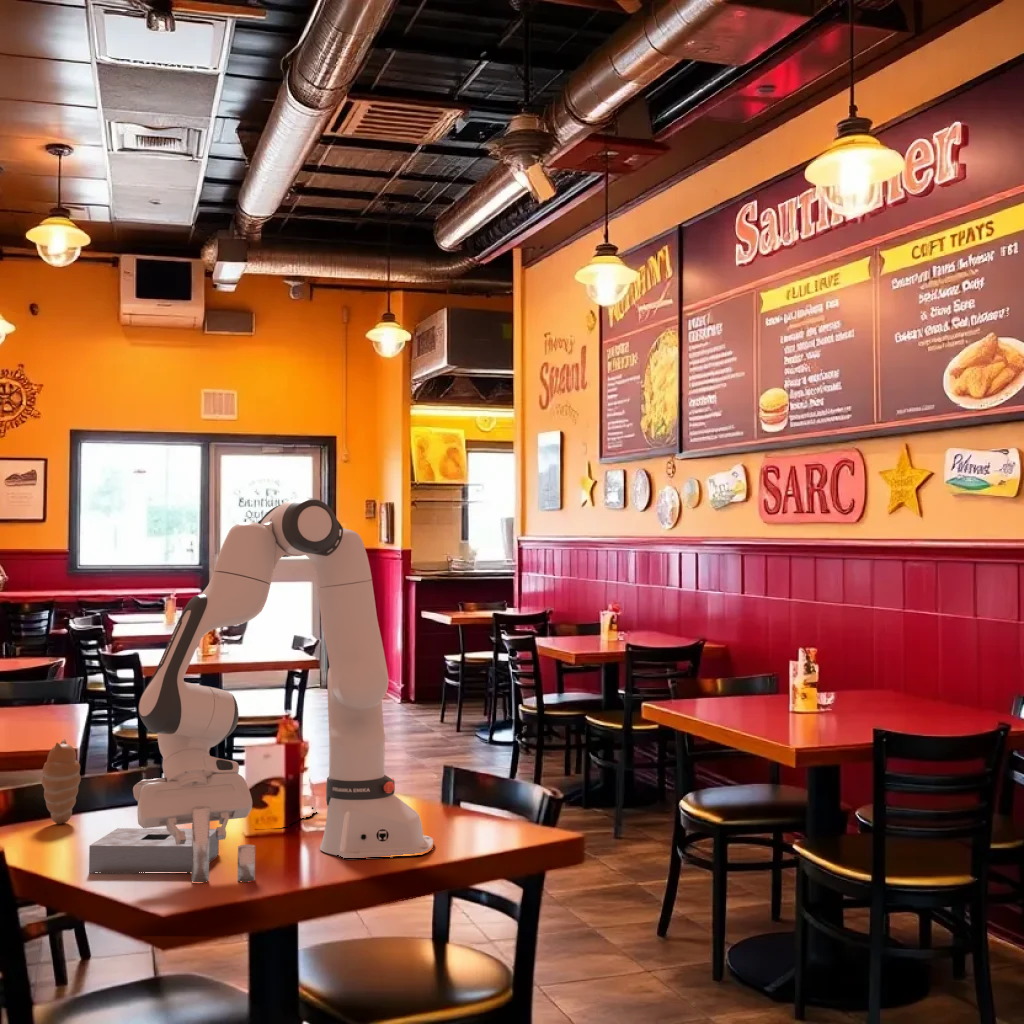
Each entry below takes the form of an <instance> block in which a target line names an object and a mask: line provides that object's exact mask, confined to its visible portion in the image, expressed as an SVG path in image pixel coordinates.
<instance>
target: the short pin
mask: <svg viewBox="0 0 1024 1024" xmlns="http://www.w3.org/2000/svg"><path fill="white" fill-rule="evenodd" d="M255 875H256V845H255V844H240V845H239V846H237V882H238V881H242V882H248V881H253V880H254V881H255V880H256V878H255V877H256V876H255ZM254 881H253V882H254ZM248 883H249V882H248Z"/></svg>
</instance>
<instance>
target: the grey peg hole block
mask: <svg viewBox="0 0 1024 1024" xmlns="http://www.w3.org/2000/svg"><path fill="white" fill-rule="evenodd" d="M178 829H179V830H180V831H185V836H186V841H185V844H179V845H176V841H175V837H173V836H172V835H171V834H170V833H169V832H168V831H167V828H136V827H134V828H127V827H126V828H123V827H122V828H120V827H119V828H118V827H117V828H116V829H114V830H113V831H111V832H109V833H107V834H105V835H104V836H103V837H101V838H100V839H98V840H97V841H94V842H93V843H91V844H89V847H88V849H89V850H88V851H89V853H88V860H89V861H88V868H89V869H88V873H89V874H96V873H95V872H98V873H97V874H123V873H139V872H140V873H141V872H142V873H143V872H144V873H145V872H187V873H190V872H192V828H178ZM215 832H216V828H210V829H209V862H210V863H211V862H212V861H214V860H215V859H216V858H217V857H218V856H219V855H220V853H219V852H220V851H219V850H220V849H219V848H220V847H219V846H220V844H219V843H220V840H216V835H215ZM218 854H219V855H218ZM217 855H218V856H217ZM216 856H217V857H216ZM215 857H216V858H215ZM214 858H215V859H214ZM211 860H212V861H211ZM99 872H101V873H99Z"/></svg>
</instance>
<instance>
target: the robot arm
mask: <svg viewBox="0 0 1024 1024" xmlns="http://www.w3.org/2000/svg"><path fill="white" fill-rule="evenodd" d="M301 556H306V557H307V558H308V559H309V560H310V562H311V563H312V566H313V569H314V572H315V580H316V587H317V588H316V589H317V596H318V603H319V604H318V605H319V611H320V618H321V619H320V620H321V626H322V631H323V632H322V633H323V636H324V642H325V646H326V647H325V648H326V654H327V659H328V666H329V667H328V669H327V677H326V678H327V710H328V711H327V713H328V715H327V717H328V718H327V719H328V733H329V734H328V740H329V741H328V745H329V746H328V753H329V755H328V759H329V760H328V777H326V783H325V800H326V805H327V810H326V811H327V813H326V819H325V826H324V831H323V837H322V840H321V843H320V847H319V849H320V850H321V852H324V853H326V854H329V855H333V856H337V855H339V856H338V857H340V856H341V857H343V858H342V859H344V858H364V857H381V856H391V855H403V854H415V853H421V852H425V851H427V850H429V849H430V848H431V847H432V845H433V841H434V839H433V837H431V836H428V835H427V834H426V835H424V831H423V830H424V829H423V825H422V820H421V817H420V815H419V813H418V812H417V811H416V810H415V809H413V808H412V807H411V806H409V805H408V804H407V803H406V802H404V801H403V800H402V799H400V798H399V797H398V796H397V795H395V791H396V788H395V787H396V786H395V783H396V782H395V778H394V777H392V778H391V777H389V776H388V775H386V774H385V772H386V771H385V770H386V769H385V761H386V760H385V754H386V751H385V748H386V744H385V741H386V738H385V737H386V736H385V729H384V715H383V699H384V698H385V696H386V694H387V691H388V689H389V684H390V683H389V682H390V681H389V673H388V667H387V662H386V656H385V650H384V646H383V645H384V644H383V640H382V639H383V638H382V635H381V631H380V626H379V621H378V616H377V615H378V614H377V608H376V600H375V593H374V585H373V577H372V572H371V566H370V561H369V557H368V553H367V551H366V548H365V544H364V541H363V539H362V537H361V535H360V534H359V533H358V532H356V531H355V530H352V529H349V528H344V527H343V525H342V524H341V523H340V522H339V520H338V519H337V516H336V515H335V513H334V511H333V510H332V508H331V507H330V506H329V505H328V504H327V503H325V502H324V501H322V500H320V499H317V498H314V497H301V498H296V499H295V498H294V499H291V500H288V501H287V500H286V501H285V502H283V503H282V504H279V505H276V506H275V507H273V508H271V509H269V511H267V512H266V513H265V514H264V516H263V517H262V518H261V519H259V520H258V522H255V521H254V522H253V521H245V522H244V521H243V522H238V523H237V524H236V523H235V525H233V526H232V527H231V528H230V530H229V532H228V533H227V535H226V537H225V538H224V542H223V543H222V546H221V548H220V551H219V554H218V557H217V558H216V562H215V566H214V568H213V573H212V576H211V579H210V580H209V582H208V585H207V586H206V587H205V589H204V590H203V591H202V592H201V593H200V594H198V595H195V596H192V598H191V599H189V601H188V602H187V604H186V605H185V607H184V609H183V610H182V613H181V615H180V617H179V619H178V621H177V623H176V625H175V627H174V629H173V632H172V634H171V636H170V638H169V641H168V642H167V644H166V647H165V649H164V652H163V654H162V655H161V656H162V657H161V658H160V660H159V662H158V665H157V668H156V669H155V672H154V673H153V675H152V676H151V679H150V680H149V682H148V683H147V685H146V686H145V688H144V690H143V691H142V693H141V695H140V698H139V701H138V706H137V709H138V715H139V717H140V719H141V721H142V723H143V725H144V726H145V727H146V729H147V730H148V731H149V732H151V734H152V733H153V734H156V735H157V743H158V748H159V753H160V754H161V756H162V758H163V759H162V771H163V776H164V777H161V778H160V777H159V778H153V779H152V778H151V779H147V778H146V779H142V780H140V781H139V782H137V783H136V784H134V786H133V788H132V792H133V798H134V799H135V801H137V823H138V825H139V826H140V827H141V828H142V829H153V828H159V827H161V828H162V827H166V829H167V831H168V832H169V833H170V834H171V835H172V836H173V837H175V841H176V845H179V844H185V841H186V836H185V831H180V830H179V829H180V828H178V827H177V826H179V825H187V824H192V808H194V807H199V806H207V807H210V822H213V821H214V822H215V821H217V822H218V823H219V824H218V825H220V826H217V827H216V828H215V829H216V832H215V835H216V840H219V841H222V840H226V837H227V831H226V827H227V825H228V822H229V820H235V819H245V818H247V817H248V816H249V814H250V813H251V810H252V808H253V799H252V794H251V792H250V789H249V786H248V783H247V781H246V780H245V778H244V777H243V776H242V774H239V772H240V766H239V763H238V762H237V761H234V760H229V759H224V758H219V757H216V756H212V755H210V750H211V748H215V747H216V746H218V745H219V744H221V743H222V742H223V741H224V740H226V739H227V738H228V737H229V736H230V735H231V734H232V733H233V732H234V731H235V729H236V728H237V725H238V722H239V715H240V714H239V707H238V703H237V700H236V698H235V696H234V694H232V692H231V691H228V690H224V689H220V688H218V687H212V686H208V685H201V684H196V683H191V682H186V681H185V680H184V679H185V675H186V674H187V673H186V672H187V671H188V668H189V666H190V664H191V662H192V660H193V657H194V654H195V652H196V650H197V648H198V646H199V643H200V641H201V640H202V639H203V637H204V636H205V635H207V634H208V633H209V632H211V631H215V630H217V629H220V628H226V627H232V626H238V625H241V624H244V623H248V622H249V621H252V620H253V619H254V618H256V617H257V616H259V614H260V613H261V612H262V610H263V609H264V607H265V605H266V602H267V600H268V596H269V592H270V588H271V584H272V580H273V574H274V571H275V568H276V567H277V565H278V562H279V561H280V560H281V558H288V557H301ZM341 857H340V858H341Z"/></svg>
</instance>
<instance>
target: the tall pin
mask: <svg viewBox="0 0 1024 1024" xmlns="http://www.w3.org/2000/svg"><path fill="white" fill-rule="evenodd" d="M210 822H211V821H210V807H207V806H199V807H194V808H192V823H191V825H192V828H191V829H192V874H191V880H192V881H193V882H206V881H208V880H209V881H210V863H209V829H211V827H210V826H211V825H210Z"/></svg>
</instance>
